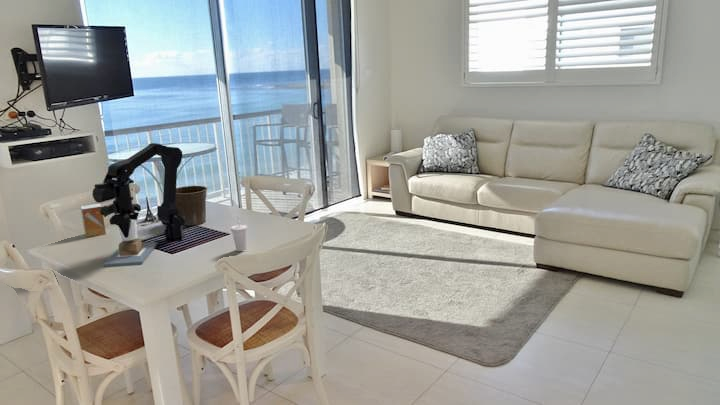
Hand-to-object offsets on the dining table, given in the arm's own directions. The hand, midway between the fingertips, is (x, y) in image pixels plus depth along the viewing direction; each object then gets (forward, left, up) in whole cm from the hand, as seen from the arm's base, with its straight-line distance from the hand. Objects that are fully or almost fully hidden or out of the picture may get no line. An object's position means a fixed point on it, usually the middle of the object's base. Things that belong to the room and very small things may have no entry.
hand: (129, 234), depth 203 cm
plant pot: (-16, -40, -9) cm, 44 cm away
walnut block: (0, 0, -7) cm, 7 cm away
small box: (+25, -31, -9) cm, 41 cm away
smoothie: (-43, +3, -9) cm, 44 cm away
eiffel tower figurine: (+6, -47, -9) cm, 48 cm away
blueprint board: (0, 0, -8) cm, 8 cm away
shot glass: (0, 0, -2) cm, 2 cm away
